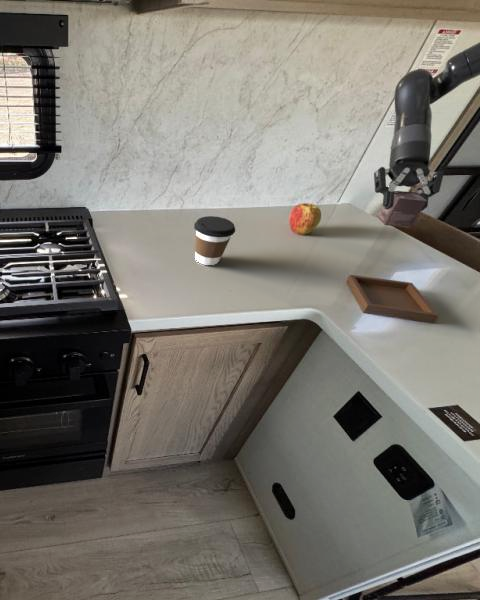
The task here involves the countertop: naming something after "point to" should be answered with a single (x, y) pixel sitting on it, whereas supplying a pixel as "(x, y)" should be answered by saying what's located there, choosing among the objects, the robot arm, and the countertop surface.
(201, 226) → the coffee cup
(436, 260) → the countertop surface
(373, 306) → the brown wooden tray
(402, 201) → the box
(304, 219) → the apple
